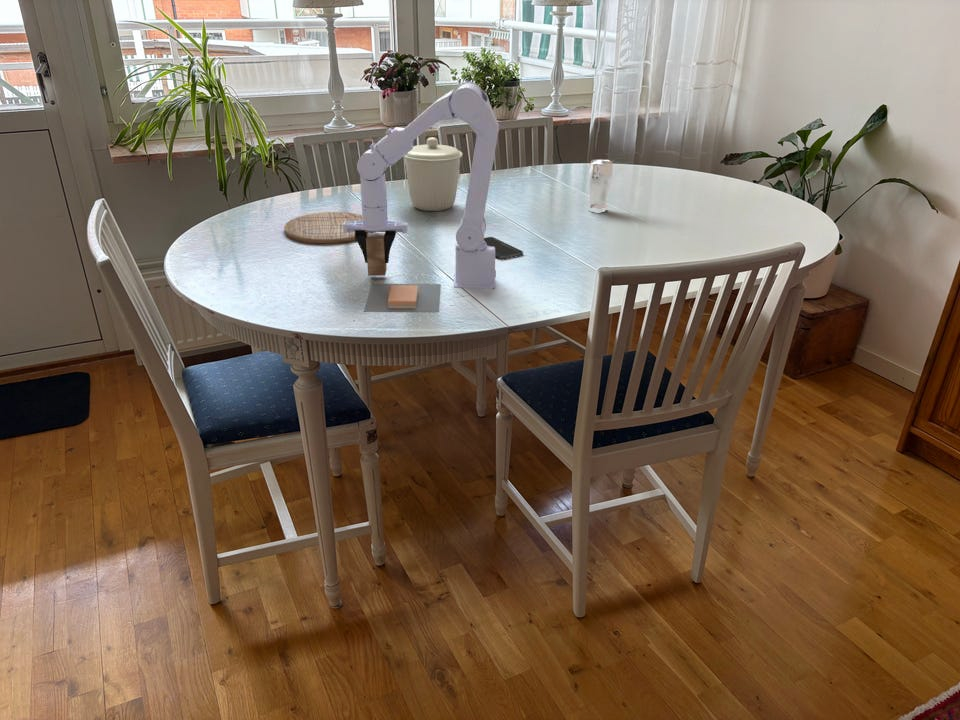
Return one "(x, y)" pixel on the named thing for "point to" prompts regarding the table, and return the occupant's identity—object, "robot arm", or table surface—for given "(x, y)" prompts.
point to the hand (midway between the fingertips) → (377, 261)
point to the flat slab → (403, 296)
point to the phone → (502, 248)
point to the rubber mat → (425, 303)
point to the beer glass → (599, 182)
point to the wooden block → (376, 254)
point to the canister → (432, 175)
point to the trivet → (322, 228)
